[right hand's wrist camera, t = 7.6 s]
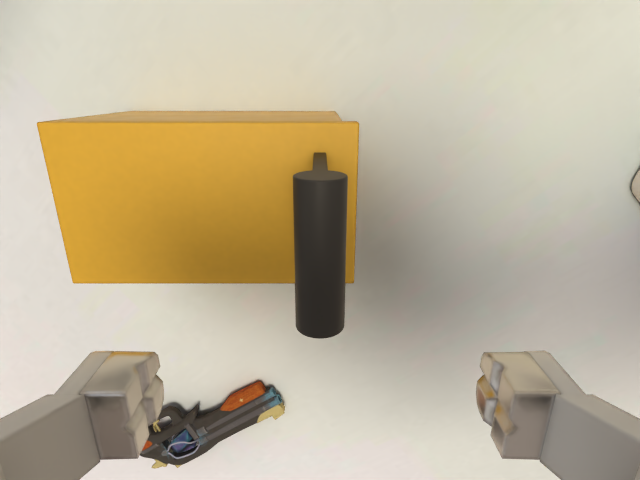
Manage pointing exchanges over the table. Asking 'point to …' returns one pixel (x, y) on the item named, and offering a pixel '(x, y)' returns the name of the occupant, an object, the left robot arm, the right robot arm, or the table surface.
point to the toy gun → (209, 425)
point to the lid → (211, 205)
